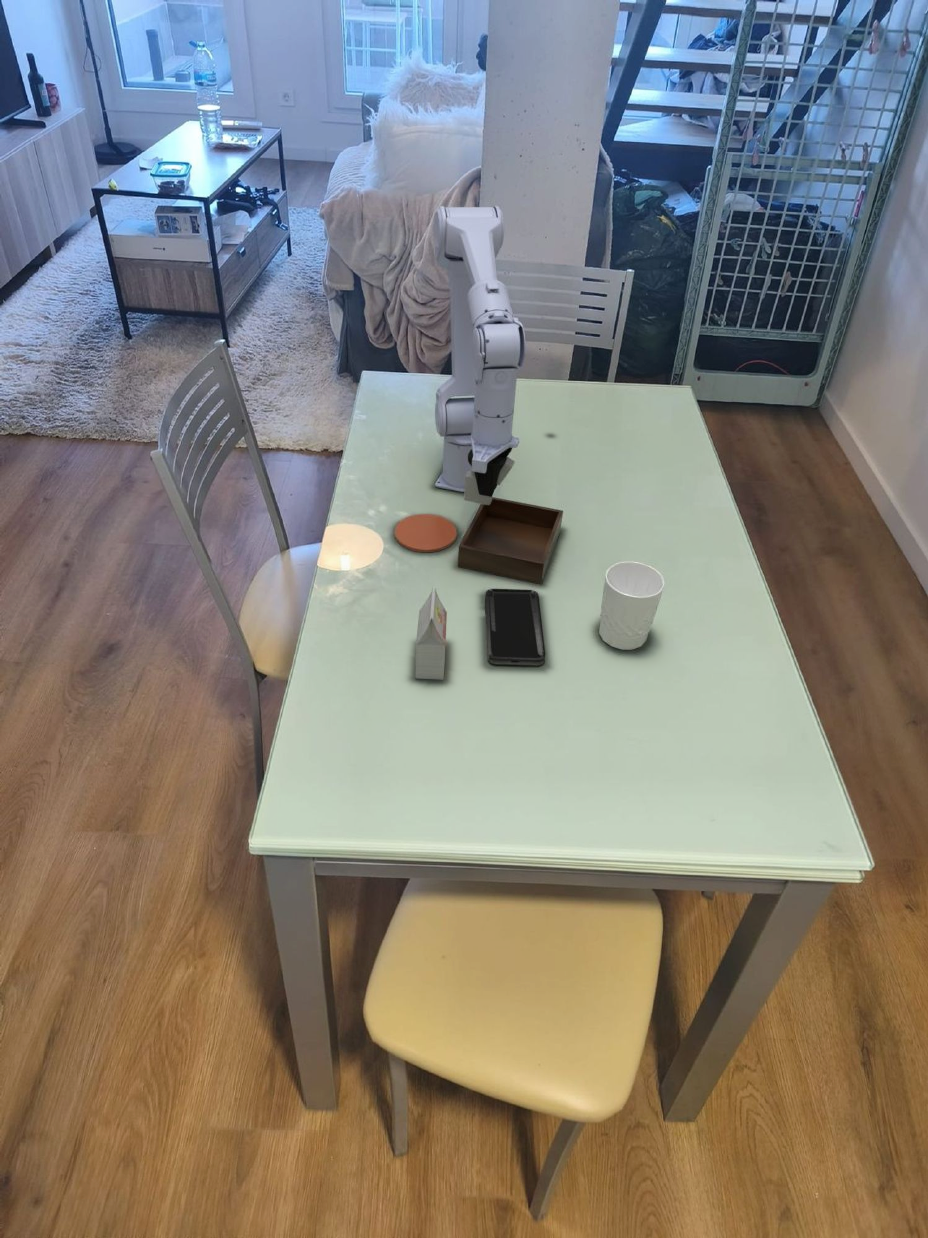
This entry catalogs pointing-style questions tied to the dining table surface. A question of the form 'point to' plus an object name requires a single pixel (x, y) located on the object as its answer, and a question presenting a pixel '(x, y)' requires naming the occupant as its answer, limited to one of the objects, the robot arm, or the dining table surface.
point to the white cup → (629, 604)
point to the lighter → (472, 489)
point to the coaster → (425, 533)
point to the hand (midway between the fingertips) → (487, 490)
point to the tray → (511, 540)
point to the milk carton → (431, 639)
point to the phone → (514, 627)
